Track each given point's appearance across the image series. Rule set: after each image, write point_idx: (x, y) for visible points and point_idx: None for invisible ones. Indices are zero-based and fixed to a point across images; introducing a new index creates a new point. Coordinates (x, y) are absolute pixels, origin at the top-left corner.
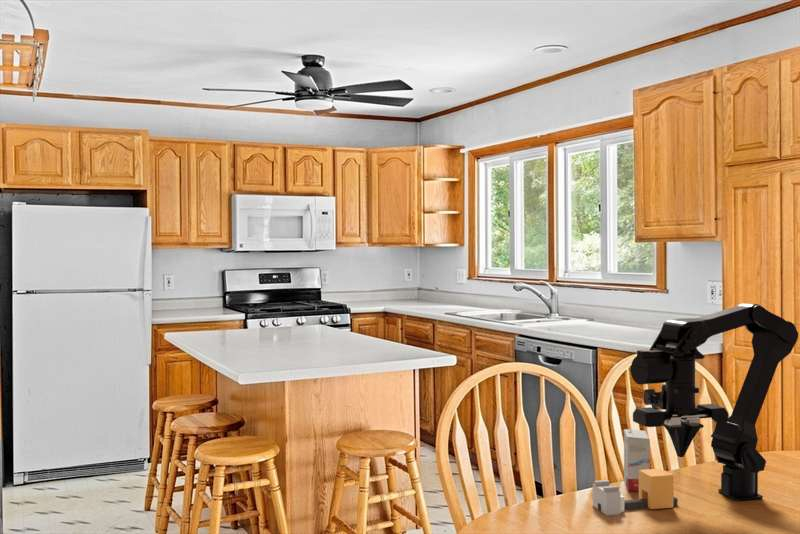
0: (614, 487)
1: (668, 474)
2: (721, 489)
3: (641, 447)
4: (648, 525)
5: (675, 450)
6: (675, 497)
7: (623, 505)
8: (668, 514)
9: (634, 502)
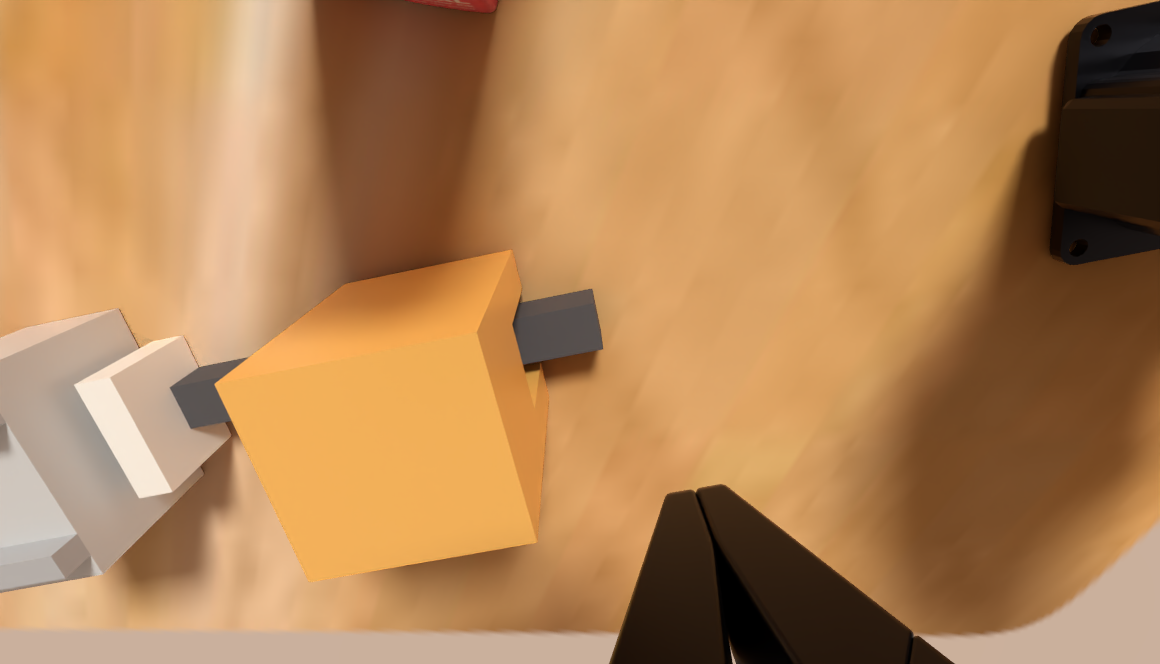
0: (31, 582)
1: (494, 527)
2: (1074, 114)
3: None
4: (337, 610)
5: (651, 538)
6: (597, 326)
7: (202, 458)
8: None
9: None
